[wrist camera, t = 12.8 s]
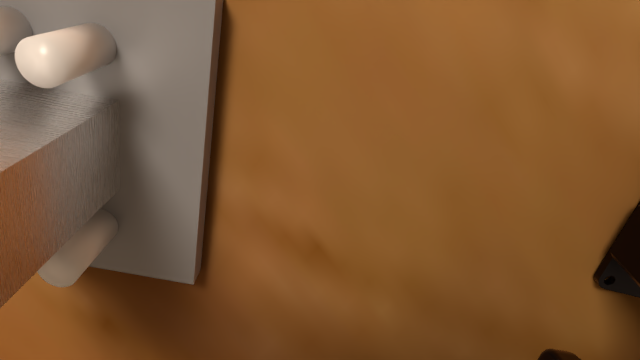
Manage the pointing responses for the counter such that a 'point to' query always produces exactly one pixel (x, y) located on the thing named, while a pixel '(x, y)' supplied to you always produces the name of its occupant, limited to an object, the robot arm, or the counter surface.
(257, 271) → the counter surface
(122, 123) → the pin tray
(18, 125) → the white tall rectangular block
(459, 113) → the counter surface
